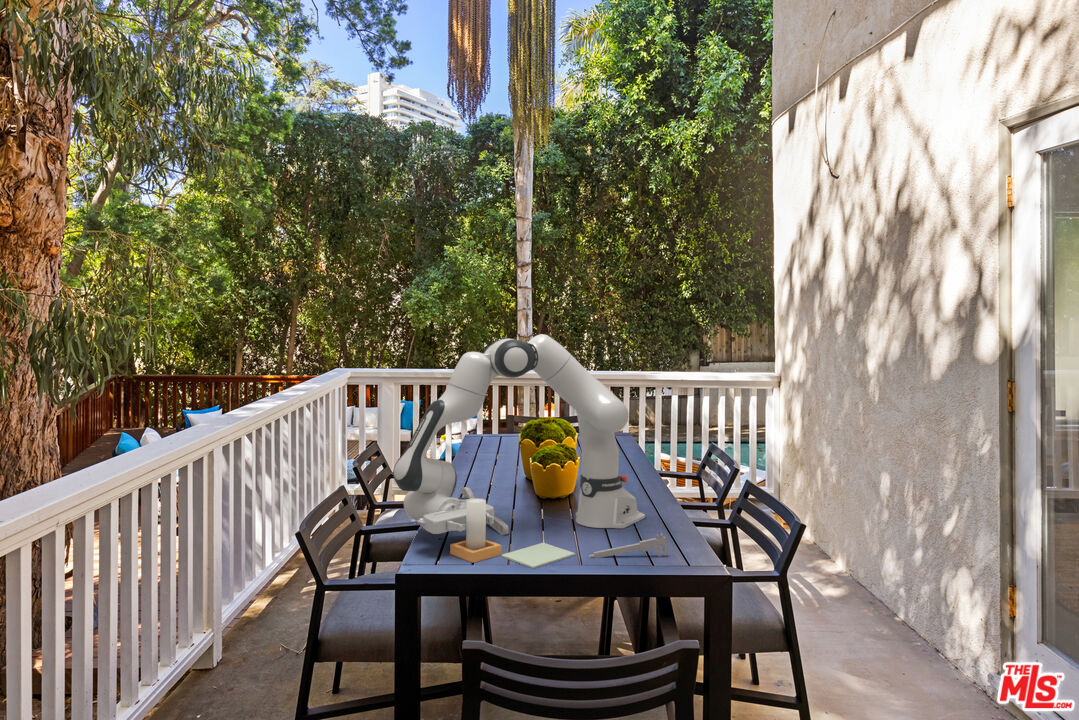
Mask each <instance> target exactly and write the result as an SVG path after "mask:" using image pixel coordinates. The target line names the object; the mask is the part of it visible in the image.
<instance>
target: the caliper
mask: <svg viewBox="0 0 1079 720" xmlns="http://www.w3.org/2000/svg"><path fill="white" fill-rule="evenodd" d="M656 537H657V538H656ZM656 537H652V538H648V539H645V540H640V541H638V543H637V542H636V543H632V544H627V545H622V546H618V547H614V548H613V547H612V548H608V549H602V550H597V551H593V554H589V555H588V558H589V559H591V558H594V559H599V558H600V559H601V558H606V557H609V556H616V555H620V554H626V553H630V552H636V551H639V550H640V551H641V553H644V552H649V551H651V550H652V549H653V550H654V551H655V553H656V555H657V557H659V556H661V550H660V547H659V546H662V550H663V554H664V556H665V557H667V556H668V554H669V553H668V549H669V548H668V547H669V545H668V541H667V537H666V536H664V534H663V533H662V532H661V533H660V535H659V534H658V533H656Z"/></svg>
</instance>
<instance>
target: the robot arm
mask: <svg viewBox="0 0 1079 720" xmlns="http://www.w3.org/2000/svg"><path fill="white" fill-rule="evenodd" d="M531 371H533V372H535V373H536V374H537V375H538V376H539V378H541V379H542V380H543V381H544V382H545V383H546V384H547V385H548V386H549V387H550V389H552V391H554V392H555V393H556V394H557V395H558V397H560V398H561V399H562V400H563V401H564V402H565V403H567V404H568V405H569V406H570V407H571V408H573V409H574V410H575V413H576V416H577V422H578V423H577V424H578V432H579V439H580V445H581V474H580V476H579V477H580V478H579V486H580V490H579V496H578V505H577V511H576V512H575V522H576V523H577V524H578V525H581V526H584V527H588V528H594V529H595V528H596V529H624V528H627V527H629V526H632V525H633V524H635V523H637V522H640V521H641V520H644V519H645V518H646V515H645V513H643V512H641V511H639V510H638V502H637V499H636V497H635V496H634V495H632V494H631V493H630V492H629V491H628V490H627V489H625V488H624V487H623V483H628V481H629V477H628V475H623V474H621V475H620V474H619V471H620V470H619V469H620V467H619V466H620V465H619V464H620V463H619V462H620V461H619V460H620V459H619V457H620V450H619V446H618V443H617V440H616V435H615V433H617V432H620V431H622V430H623V429H624V428H625V427H626V425H627V423H628V421H629V410H628V407H627V405H625V403H624V402H623V401H622V400H620V399H619V397H617V396H616V395H615V393H613V392H612V391H611V390H610V389H609V388H608V387H607V386H606V385H604V384H603V383H602V382H601V381H599V380H598V379H597V378H596V377H595V376H594V375H592V374H591V373H590V372H589V371H588V370H587V369H586V368H585V367H584V366H583V365H582V364H581V363H580V362H579V361H578V360H577V359H576V358H575V357H574V356H573V355H572V354H571V353H570V352H569V351H568V350H567V349H566V348H565V347H564V346H563V345H562V344H561V343H559V341H556V340H555V339H554V338H552V337H551V336H550V335H547V334H545V333H544V334H543V333H542V334H540V333H539V334H537V335H534V336H533V337H532V338H531V339H529V341H522V340H519V339H514V338H501V339H497V340H495V341H494V342H491V343H490V344H489V345H488V347H486V348H485V349H484V350H483V351H482V352H479V351H468V352H465V353H464V354H463V355H462V356H461V357H460V359H459V360H458V362H457V363H456V366H455V368H454V370H453V371H452V375H451V376H450V379H449V382H448V384H447V387H446V389H445V391H444V392H443V393H442V395H441V396H440V397H439V398H438V399H437V400H434V401H433V402H431V403H430V405H429V406H428V407H427V408H426V411H425V412H424V414H423V416H422V418H421V420H420V421H419V423H418V426H417V428H416V429H415V431H414V433H413V435H412V437H411V439H410V441H409V443H408V444H407V446H406V448H405V450H404V451H403V453H402V454H401V455H400V456H399V458H398V460H397V461H396V463H395V464H394V467H393V470H392V471H393V473H392V475H393V479H394V482H395V484H396V485H397V487H398V488H399V489H400V490H401V491H404V492H407V493H406V494H405V497H404V499H403V508H404V511H405V512H406V514H407V515H408V516H409V517H410V518H411V519H413V520H415V521H416V523H417V524H418V525H420V526H422V527H423V530H425V531H426V532H428V533H431V534H432V535H439V534H443V533H447V532H452V531H453V532H455V531H457V532H460V533H461V532H466V505H467V500H469V499H473V498H470V497H454V496H453V494H454V493H455V490H456V487H457V482H458V475H457V471H456V468H455V467H454V465H453V463H452V462H449V461H445V460H441V459H437V458H436V459H435V458H430V457H426V455H427V452H428V450H429V448H430V447H431V445H432V443H433V441H434V439H435V437H436V435H437V434H438V433H439V431H440V430H441V429H442V428H443V427H446V426H447V425H450V424H455V423H460V422H461V423H462V422H466V421H469V420H471V419H473V418H475V416H476V415H478V414H479V412H480V410H481V409H482V407H483V405H484V401H485V399H486V395H487V392H488V389H489V386H490V385H491V383H492V381H493V380H494V379H495V378H497V377H499V376H500V377H503V378H509V379H510V378H511V379H513V378H515V379H516V378H519V377H521V376H523V375H526V374H527V373H529V372H531ZM494 515H495V509H494V507H493V506H492V505H490V504H489V503H486V525H489V524H493V523H494Z"/></svg>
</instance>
